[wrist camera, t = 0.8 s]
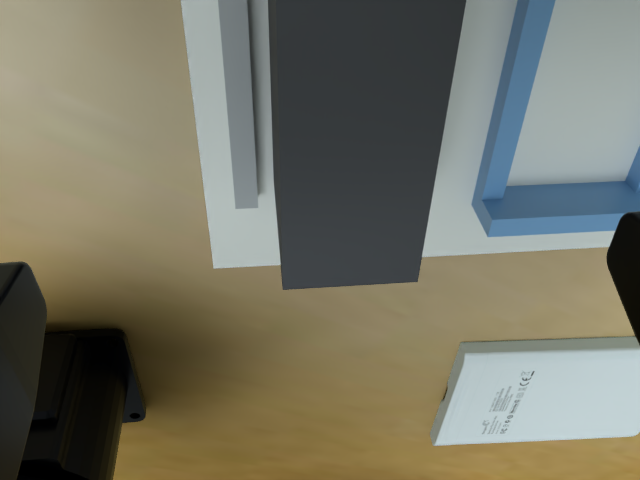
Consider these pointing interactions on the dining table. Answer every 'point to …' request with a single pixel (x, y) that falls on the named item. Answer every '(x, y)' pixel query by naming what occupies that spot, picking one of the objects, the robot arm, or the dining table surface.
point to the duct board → (449, 128)
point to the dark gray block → (357, 133)
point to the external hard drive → (541, 391)
